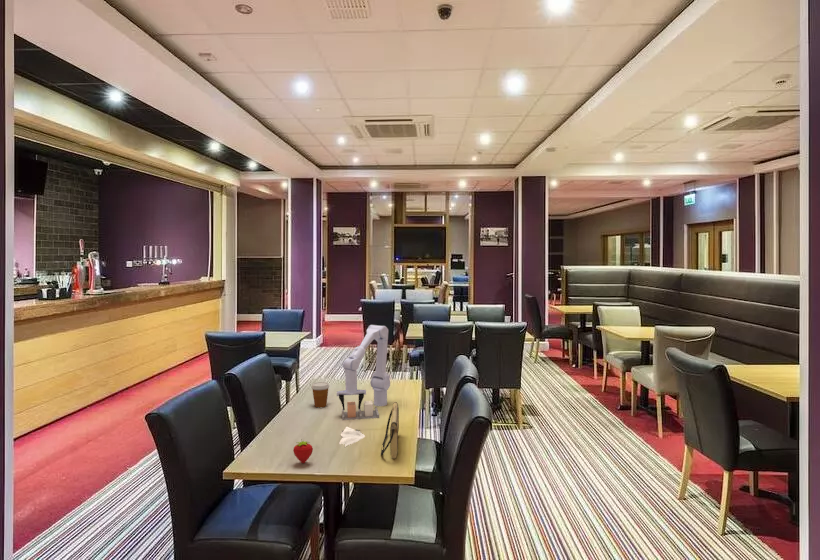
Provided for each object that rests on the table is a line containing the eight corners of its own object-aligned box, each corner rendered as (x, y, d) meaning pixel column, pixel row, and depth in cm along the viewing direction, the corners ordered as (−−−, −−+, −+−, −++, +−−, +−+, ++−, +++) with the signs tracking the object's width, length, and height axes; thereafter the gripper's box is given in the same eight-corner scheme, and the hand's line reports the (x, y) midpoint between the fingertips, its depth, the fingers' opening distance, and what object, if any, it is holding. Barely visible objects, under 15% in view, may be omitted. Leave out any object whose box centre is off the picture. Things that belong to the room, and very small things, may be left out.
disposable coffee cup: (308, 407, 248) (307, 385, 247) (318, 402, 257) (317, 381, 256) (323, 409, 244) (323, 387, 244) (332, 404, 253) (332, 382, 253)
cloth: (357, 450, 193) (356, 444, 193) (325, 448, 195) (325, 442, 195) (372, 428, 218) (372, 423, 218) (344, 426, 221) (344, 421, 221)
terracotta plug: (347, 413, 234) (347, 402, 234) (355, 413, 235) (355, 401, 235) (347, 417, 228) (347, 405, 228) (355, 417, 229) (355, 405, 229)
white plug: (364, 412, 235) (364, 401, 235) (372, 412, 236) (371, 400, 236) (365, 416, 230) (364, 404, 229) (373, 416, 230) (372, 404, 230)
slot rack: (341, 414, 237) (341, 409, 236) (376, 412, 240) (376, 407, 239) (342, 422, 225) (342, 417, 225) (379, 419, 228) (379, 414, 228)
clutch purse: (383, 433, 210) (383, 401, 209) (399, 433, 210) (398, 400, 209) (379, 461, 180) (379, 423, 179) (397, 461, 180) (397, 423, 179)
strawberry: (311, 466, 176) (310, 441, 175) (291, 466, 176) (291, 440, 176) (314, 460, 182) (314, 435, 181) (295, 460, 182) (295, 435, 181)
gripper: (336, 385, 226) (337, 412, 226) (366, 383, 228) (366, 410, 229) (336, 381, 233) (336, 408, 233) (365, 380, 235) (365, 406, 235)
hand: (351, 409), depth 231 cm, fingers open, 7 cm apart
